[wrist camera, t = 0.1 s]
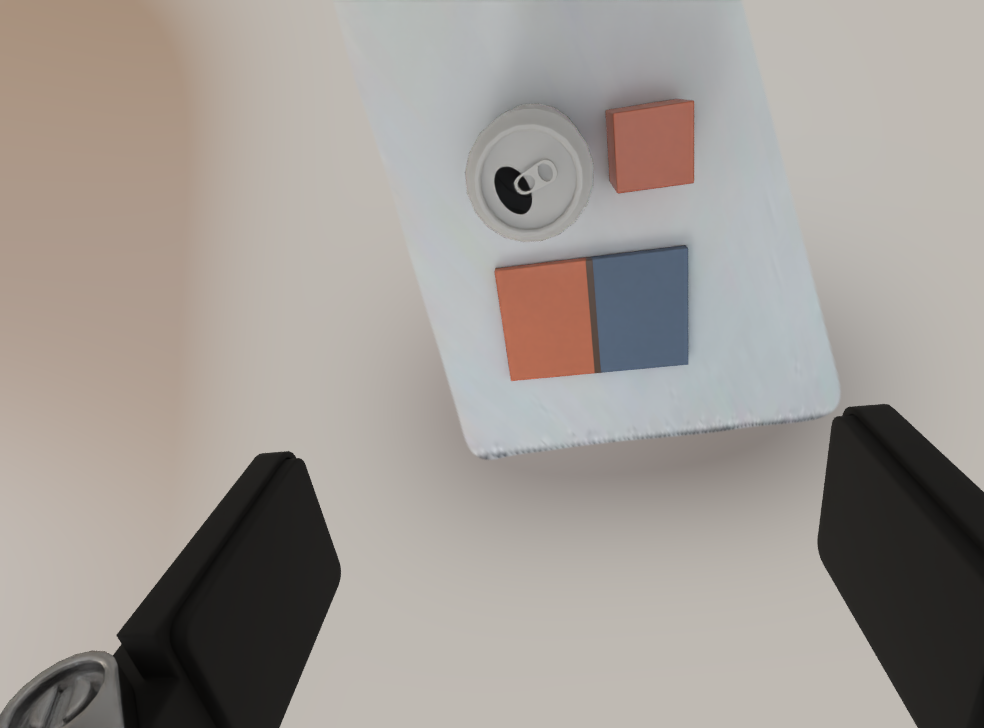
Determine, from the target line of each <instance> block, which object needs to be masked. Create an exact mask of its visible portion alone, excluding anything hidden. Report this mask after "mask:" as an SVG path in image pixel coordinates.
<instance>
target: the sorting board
mask: <svg viewBox="0 0 984 728" xmlns="http://www.w3.org/2000/svg"><path fill="white" fill-rule="evenodd" d="M495 278H496V284H497V291H498V297H499V304H500V310H501V317H502V324H503V330H504V337H505V343H506V350H507V356H508V363H509V370H510V376H511V381H516V380H527V379H537V378H548V377H559V376H570V375H580V374H591V373H602V372H613V371H623V370H634V369H645V368H655V367H666V366H677V365H688V248H687V246H686V245H684V246H676V247H668V248H660V249H652V250H643V251H635V252H627V253H619V254H611V255H602V256H594V257H586V258H578V259H570V260H561V261H553V262H545V263H537V264H529V265H520V266H512V267H504V268H496V269H495Z"/></svg>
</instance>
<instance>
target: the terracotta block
mask: <svg viewBox="0 0 984 728" xmlns="http://www.w3.org/2000/svg"><path fill="white" fill-rule="evenodd" d="M606 127H607V144H608V161H609V178H610V183H611V184H612V186H613V187H614V189H615V190H616V192H617V193H625V192H632V191H639V190H647V189H654V188H661V187H669V186H676V185H683V184H691V183H694V101H692V100H683V99H673V100H666V101H660V102H653V103H647V104H641V105H634V106H628V107H622V108H615V109H609V110H606Z"/></svg>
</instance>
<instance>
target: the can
mask: <svg viewBox="0 0 984 728" xmlns="http://www.w3.org/2000/svg"><path fill="white" fill-rule="evenodd" d="M465 176H466V187H467V194H468V197H469V199H470V201H471V204H472V206H473V209H474V211H475V213H476V214H477V215H478V216H479V217H480V219H481V220H482V221H483V222H484V223H485V225H486V226H487V227H488V228H490V229H491V230H493V231H495V232H496V233H498V234H499V235H501V236H503V237H504V238H508V239H512V240H516V241H520V242H534V241H543V240H546V239H548V238H551V237H554V236H556V235H559V234H561V233H562V232H563V231H564V230H566V229H567V228H568V227H569V226H571V225H572V224H573V223H575V222H576V220H577V219H578V217H579V216H580V214H581V213H582V212H583V210H584V209H585V207H586V206H587V204H588V200H589V197H590V194H591V191H592V188H593V161H592V158H591V155H590V152H589V148H588V145H587V143H586V141H585V140H584V138H583V137H582V136H581V134H580V133H579V131H578V130H577V129H576V127H575V126H574V124H573V123H572V122H571V120H570V119H569V118H568V117H567V116H566V115H564V114H563V113H561V112H560V111H558V110H557V109H556V108H554V107H550V106H546V105H543V104H539V103H536V104H524V105H520V106H517V107H515V108H513V109H511V110H509V111H506V112H505V113H503V114H502V115H500V116H499V117H498V118H496V119H495V120H494V121H493V122H492V123H491V124H489V125H488V126H487V127H486V128H485V129H484V130H483V131H482V132H481V133H480V134H479V136H478V138H477V139H476V141H475V143H474V145H473V147H472V148H471V150H470V152H469V157H468V161H467V166H466V171H465Z"/></svg>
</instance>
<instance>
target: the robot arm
mask: <svg viewBox="0 0 984 728" xmlns="http://www.w3.org/2000/svg"><path fill="white" fill-rule="evenodd" d="M818 550H819V555H820V558H821V560H822V562H823V564H824V566H825V568H826V570H827V571H828V573H829V575H830V576H831V578H832V580H833V582H834V583H835V585H836V587H837V589H838V590H839V592H840V594H841V596H842V597H843V599H844V601H845V602H846V604H847V606H848V608H849V609H850V611H851V613H852V615H853V616H854V618H855V620H856V621H857V623H858V625H859V627H860V628H861V630H862V632H863V634H864V635H865V637H866V639H867V641H868V642H869V644H870V646H871V647H872V649H873V651H874V652H875V654H876V656H877V658H878V660H879V661H880V663H881V665H882V666H883V668H884V670H885V672H886V673H887V675H888V677H889V678H890V680H891V682H892V684H893V686H894V687H895V689H896V691H897V692H898V694H899V696H900V697H901V699H902V701H903V703H904V704H905V706H906V708H907V710H908V711H909V713H910V715H911V717H912V718H913V720H914V722H915V724H916V725H917V727H918V728H984V492H983V491H982V490H981V489H980V488H979V487H978V486H976V485H975V484H974V483H973V482H972V481H971V480H970V479H969V478H968V477H967V476H966V475H965V474H964V473H963V472H961V471H960V470H959V469H958V468H957V467H956V466H955V465H954V464H953V463H952V462H951V461H950V460H949V459H948V458H946V457H945V456H944V455H943V454H942V453H941V452H940V451H939V450H938V449H937V448H936V447H935V446H933V445H932V444H931V443H930V442H929V441H928V440H927V439H926V438H925V437H924V436H923V435H922V434H921V433H920V432H918V431H917V430H916V429H915V428H914V427H913V426H912V425H911V424H910V423H909V422H908V421H907V420H906V419H904V418H903V417H902V416H901V415H900V414H899V413H898V412H897V411H896V410H895V409H894V408H892V407H891V406H890V405H887V404H880V405H866V406H855V407H848V408H846V409H845V411H844V413H843V416H838V417H836V418H834V420H833V422H832V427H831V435H830V443H829V451H828V459H827V468H826V476H825V483H824V491H823V500H822V508H821V516H820V525H819V532H818ZM340 577H341V568H340V563H339V560H338V557H337V554H336V551H335V548H334V545H333V543H332V540H331V537H330V534H329V531H328V528H327V525H326V522H325V520H324V517H323V514H322V511H321V508H320V505H319V502H318V499H317V497H316V494H315V491H314V488H313V485H312V482H311V479H310V476H309V474H308V471H307V468H306V465H305V463H304V461H303V460H302V459H300V458H296V457H295V455H294V454H293V453H291V452H289V451H288V452H274V453H262V454H259V455H258V456H256V457H255V458H254V460H253V461H252V462H251V464H250V465H249V466H248V468H247V469H246V470H245V471H244V473H243V474H242V475H241V476H240V478H239V479H238V480H237V481H236V483H235V484H234V485H233V487H232V488H231V489H230V490H229V492H228V493H227V494H226V496H225V497H224V498H223V500H222V501H221V502H220V503H219V504H218V506H217V507H216V508H215V510H214V511H213V512H212V513H211V515H210V516H209V517H208V519H207V520H206V521H205V522H204V524H203V525H202V526H201V528H200V529H199V530H198V531H197V533H196V534H195V535H194V537H193V538H192V539H191V540H190V542H189V543H188V544H187V545H186V547H185V548H184V549H183V551H182V552H181V553H180V554H179V556H178V557H177V558H176V560H175V561H174V562H173V563H172V565H171V566H170V567H169V568H168V570H167V571H166V572H165V574H164V575H163V576H162V578H161V579H160V580H159V581H158V583H157V584H156V585H155V587H154V588H153V589H152V590H151V592H150V593H149V594H148V595H147V597H146V598H145V599H144V600H143V602H142V603H141V604H140V606H139V607H138V608H137V609H136V611H135V612H134V613H133V615H132V616H131V617H130V618H129V620H128V621H127V622H126V624H125V625H124V626H123V628H122V629H121V630H120V631H119V633H118V634H117V637H118V639H119V640H120V642H121V646H120V647H119V648H118V650H117V651H116V652H115V654H114V655H113V656H112V655H110V654H109V653H107V652H105V651H89V652H84V653H80V654H76V655H73V656H71V657H69V658H66V659H64V660H62V661H59V662H57V663H56V664H54V665H53V666H51V667H49V668H48V669H46V670H44V671H43V672H41V673H40V674H38V675H37V676H36V677H35V678H33V679H32V680H31V681H30V682H28V683H27V684H26V685H25V686H23V687H22V689H20V691H19V692H18V693H17V694H16V695H15V696H14V697H13V698H12V699H11V700H10V701H9V702H8V704H7V705H6V707H5V708H4V710H3V711H2V713H1V714H0V728H279V727H280V725H281V722H282V720H283V718H284V715H285V713H286V710H287V708H288V705H289V703H290V701H291V698H292V696H293V693H294V691H295V688H296V686H297V684H298V682H299V679H300V677H301V674H302V671H303V669H304V667H305V664H306V662H307V660H308V657H309V655H310V653H311V650H312V648H313V645H314V643H315V641H316V638H317V636H318V633H319V631H320V628H321V626H322V624H323V621H324V619H325V617H326V614H327V612H328V609H329V607H330V604H331V602H332V600H333V597H334V595H335V592H336V590H337V588H338V585H339V582H340Z"/></svg>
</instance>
